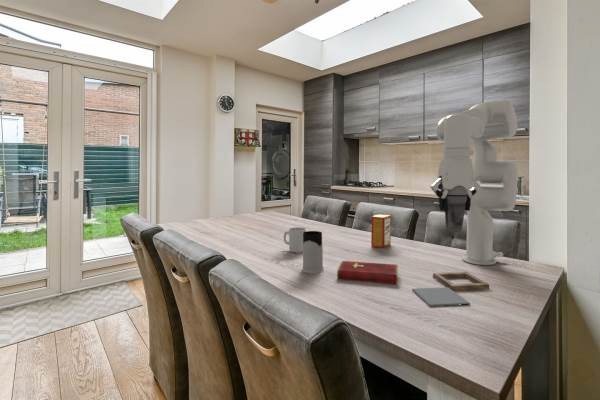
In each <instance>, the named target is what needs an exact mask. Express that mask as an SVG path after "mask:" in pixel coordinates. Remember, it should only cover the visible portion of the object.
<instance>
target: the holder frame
mask: <svg viewBox="0 0 600 400" xmlns="http://www.w3.org/2000/svg"><path fill="white" fill-rule="evenodd" d="M432 278H433V279H435V280H436V281H438V282H439V283H441V284H442V285H443V286H444V287H448V288H450V289H451V290H452V291H469V290H470V291H471V290H473V289H474V290H475V289H476V290H490V283H487V282H485V281H484V280H482V279H481V278H479V277H477V276H475V275H473V274H471V273H469V272H467V271H457V272H455V271H453V272H433V275H432ZM454 278H455V279H458V278H459V279H460V278H461V279H463V278H465V279H467V280H468V281H470V282H472V283H453V282H451V281H450V279H454Z"/></svg>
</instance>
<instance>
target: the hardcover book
mask: <svg viewBox="0 0 600 400" xmlns="http://www.w3.org/2000/svg"><path fill="white" fill-rule="evenodd" d="M398 268H399V267H398V264H394V263H383V262H382V263H381V262H380V263H379V262H365V261H355V260H354V261H353V260H352V261H351V260H342V261H341V262H340V264H339V266H338V268H337V271H336V276H337V277H336V278H337V280H342V281H343V280H344V281H354V282H363V283H364V282H366V283H377V284H386V285H399V283H398V282H399V269H398Z"/></svg>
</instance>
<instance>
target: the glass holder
mask: <svg viewBox="0 0 600 400" xmlns="http://www.w3.org/2000/svg"><path fill="white" fill-rule="evenodd" d="M323 247H324V246H323V232H322V231H319V230H308V231H307V230H306V232H303V253H302V268H301V270H302V271H301V272H304V273H306V274H318V273H322V272H324V270H325V269H324V264H323V262H324V260H323V255H324V254H323V252H324V251H323Z"/></svg>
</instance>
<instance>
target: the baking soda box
mask: <svg viewBox="0 0 600 400" xmlns="http://www.w3.org/2000/svg"><path fill="white" fill-rule="evenodd" d="M391 225H392V215H391V214H380V213H378V214H374V215H373V216H371V239H370V240H371V242H370V243H371V246H370V247H372V248H377V249H385V248H386V249H387V248H388V247H389V246H391V242H392V241H391V238H392V237H391V235H392V232H391V230H392V226H391Z"/></svg>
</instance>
